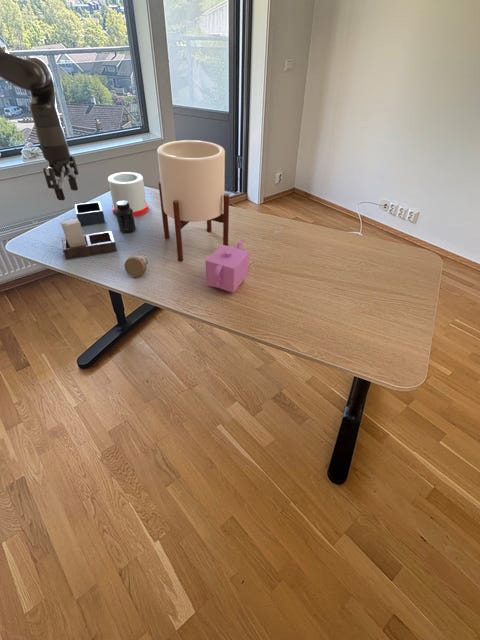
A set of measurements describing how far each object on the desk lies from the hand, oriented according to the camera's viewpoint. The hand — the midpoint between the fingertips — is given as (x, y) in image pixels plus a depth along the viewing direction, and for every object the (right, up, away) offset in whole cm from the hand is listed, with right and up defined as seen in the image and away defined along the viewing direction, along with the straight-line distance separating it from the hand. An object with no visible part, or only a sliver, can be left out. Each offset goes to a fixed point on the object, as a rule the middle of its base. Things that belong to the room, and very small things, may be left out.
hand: (68, 194), depth 114 cm
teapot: (+53, -28, +7) cm, 60 cm away
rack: (-1, -14, +19) cm, 23 cm away
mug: (+21, -24, +9) cm, 33 cm away
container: (+6, +10, +47) cm, 48 cm away
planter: (+39, -11, +25) cm, 48 cm away
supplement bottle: (+10, -4, +31) cm, 33 cm away
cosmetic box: (-4, -15, +17) cm, 24 cm away
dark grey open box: (-8, +2, +37) cm, 38 cm away
